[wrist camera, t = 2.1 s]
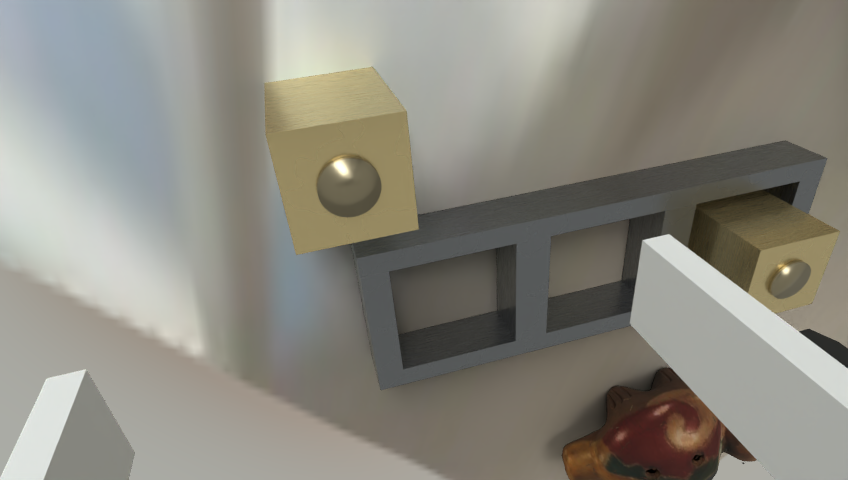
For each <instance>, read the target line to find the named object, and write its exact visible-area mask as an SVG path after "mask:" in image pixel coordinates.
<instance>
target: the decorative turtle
mask: <svg viewBox="0 0 848 480" xmlns="http://www.w3.org/2000/svg"><path fill="white" fill-rule="evenodd" d="M722 452H725V453H728V454H730V455H731V456H734V457H735V458H737V459H739V460H742V461H756V458H755V457H754V456H753V455H752V454H751V453H750V452H749V451H748V450H747V449H746V448H745V447H744V446H743V445H742V443H741V442H740V441H739V440H738V439H737V438H736V437H735V436H734V435H733V434H732V433H731V432H730V431H729V429H728V428H727V427H726V426H725V425H724V424H723V423H722V422H721V421H720V420H719V419H718V418H717V417H716V416H715V414H714V413H713V412H712V411H711V410H710V409H709V408H708V407H707V406H706V405H705V404H704V403H703V402H702V400H701V399H700V398H699V397H698V396H697V395H696V394H695V393H694V392H693V391H692V390H691V389H690V388H689V387H688V385H687V384H686V383H685V382H684V381H683V380H682V379H681V378H680V377H679V376H678V375H677V374H676V373H675V372H674V370H673V369H670V368H662V369H660V370H658V372H657V373H656V375H655V378H654V381H653V385H652V389H651V390H650V391H640V390H635V389H632V388H628V387H624V386H615V387H612V388H611V389H610V390H609V392H608V394H607V420H606V424H605V425H604V426H603V427H602V428H601V429H599V430H597V431H595V432H593V433H591V434H589V435H587V436H584V437H582V438H580V439H577V440H575V441H573V442H571V443H569V444H567V445H566V446H565V447H564V448H563V453H562V458H563V461H564V465H565V470H566V473H567V475H568V477H569V479H570V480H712V479H713V477H714V476H715V474H716V473H717V470H718V465H719V460H720V455H721V453H722ZM743 464H744V463H743Z"/></svg>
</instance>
